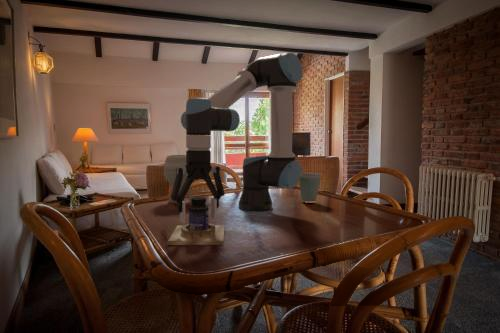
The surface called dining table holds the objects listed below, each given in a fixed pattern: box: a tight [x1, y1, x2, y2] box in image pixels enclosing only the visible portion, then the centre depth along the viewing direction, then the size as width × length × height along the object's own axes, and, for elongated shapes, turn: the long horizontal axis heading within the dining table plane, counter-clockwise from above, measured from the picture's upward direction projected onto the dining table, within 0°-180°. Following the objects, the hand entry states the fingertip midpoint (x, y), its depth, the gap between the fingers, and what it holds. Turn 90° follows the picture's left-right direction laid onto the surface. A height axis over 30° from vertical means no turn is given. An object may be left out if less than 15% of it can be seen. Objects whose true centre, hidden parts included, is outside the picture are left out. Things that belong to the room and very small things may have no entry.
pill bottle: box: [188, 196, 210, 231], centre depth 98 cm, size 6×6×11 cm
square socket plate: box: [167, 222, 226, 246], centre depth 99 cm, size 16×16×3 cm
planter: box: [163, 154, 196, 204], centre depth 150 cm, size 16×16×22 cm
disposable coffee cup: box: [299, 172, 322, 202], centre depth 152 cm, size 11×11×15 cm
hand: (198, 220), depth 99 cm, fingers open, 10 cm apart
